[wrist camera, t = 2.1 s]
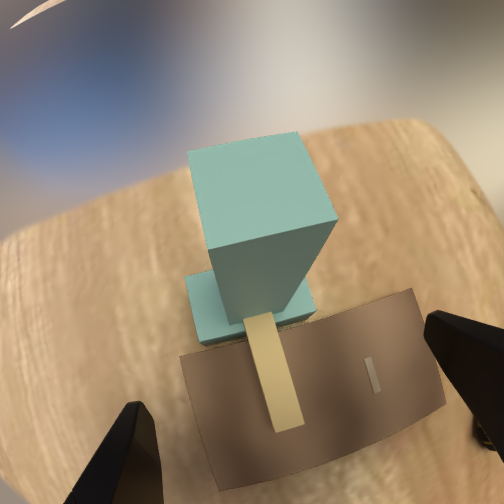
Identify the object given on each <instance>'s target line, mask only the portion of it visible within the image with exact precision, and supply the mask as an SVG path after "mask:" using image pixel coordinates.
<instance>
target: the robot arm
mask: <svg viewBox="0 0 504 504" xmlns="http://www.w3.org/2000/svg"><path fill="white" fill-rule="evenodd" d="M423 336H424V339H425V341H426V343H427V345H428V346H429V348H430V350H431V351H432V353H433V355H434V356H435V358H436V360H437V362H438V363H439V365H440V367H441V368H442V370H443V372H444V373H445V375H446V376H447V378H448V379H449V380H450V382H451V383H452V385H453V386H454V387H455V389H456V390H457V392H458V393H459V395H460V396H461V397H462V399H463V400H464V402H465V403H466V405H467V406H468V408H469V409H470V411H471V412H472V414H473V415H474V417H475V418H476V420H477V421H478V423H479V424H480V426H481V427H482V429H483V430H484V432H485V433H486V435H487V436H488V438H489V440H490V441H491V443H492V444H493V446H494V448H495V449H496V451H497V453H498V454H499V456H500V458H501V460H502V461H503V463H504V329H502V328H498V327H495V326H491V325H488V324H485V323H481V322H478V321H474V320H471V319H467V318H464V317H461V316H457V315H454V314H450V313H447V312H444V311H440V310H436V311H433V312H431V313H429V314H428V315H427V317H426V322H425V327H424V332H423ZM63 504H164V498H163V484H162V470H161V462H160V456H159V450H158V444H157V438H156V431H155V424H154V420H153V418H152V416H151V415H150V413H149V412H148V410H147V409H146V407H145V405H144V404H143V403H142V402H141V401H133V402H128V403H127V404H126V405H125V407H124V408H123V410H122V411H121V413H120V414H119V416H118V418H117V419H116V421H115V422H114V424H113V425H112V427H111V428H110V430H109V432H108V433H107V435H106V436H105V438H104V439H103V441H102V443H101V444H100V446H99V447H98V449H97V450H96V452H95V454H94V455H93V457H92V458H91V460H90V462H89V463H88V465H87V466H86V468H85V470H84V471H83V473H82V474H81V476H80V478H79V479H78V481H77V482H76V484H75V486H74V487H73V489H72V492H70V494H69V495H68V497H67V499H66V500H65V502H64V503H63Z"/></svg>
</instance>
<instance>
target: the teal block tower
mask: <svg viewBox="0 0 504 504" xmlns="http://www.w3.org/2000/svg"><path fill="white" fill-rule="evenodd" d="M187 155H188V161H189V166H190V171H191V176H192V180H193V185H194V190H195V195H196V199H197V204H198V209H199V213H200V218H201V223H202V227H203V231H204V236H205V240H206V245H207V249H208V253H209V256H210V260H211V264H212V267H213V270H210V271H206V272H202V273H198V274H194V275H189V276H185V281H186V286H187V291H188V295H189V300H190V304H191V309H192V313H193V318H194V322H195V327H196V331H197V335H198V339H199V342H200V343H202V344H203V345H204V346H209V345H213V344H217V343H221V342H226V341H230V340H234V339H238V338H242V337H245V336H247V338H248V342H249V345H250V349H251V353H252V356H253V360H254V363H255V367H256V370H257V374H258V377H259V381H260V384H261V388H262V391H263V395H264V398H265V401H266V405H267V408H268V412H269V415H270V418H271V422H272V425H273V428H274V431H275V433H277V432H281V431H284V430H287V429H291V428H294V427H297V426H300V425H303V424H305V423H304V419H303V416H302V413H301V409H300V406H299V402H298V399H297V396H296V392H295V389H294V385H293V382H292V379H291V375H290V372H289V368H288V365H287V362H286V358H285V355H284V351H283V348H282V345H281V341H280V338H279V334H278V331H277V328H279V327H282V326H286V325H289V324H293V323H296V322H300V321H303V320H306V319H308V318H309V317H310V316H311V315H312V314H313V313H314V312H315V311H317V310H316V307H315V304H314V301H313V298H312V295H311V292H310V289H309V286H308V283H307V280H306V277H305V276H306V274H307V272H308V271H309V269H310V267H311V266H312V264H313V262H314V261H315V259H316V257H317V256H318V254H319V252H320V250H321V249H322V247H323V245H324V244H325V242H326V240H327V238H328V237H329V235H330V233H331V231H332V230H333V228H334V226H335V224H336V223H337V221H338V217H337V215H336V212H335V210H334V208H333V205H332V203H331V201H330V199H329V196H328V194H327V192H326V190H325V188H324V185H323V183H322V181H321V179H320V177H319V175H318V173H317V170H316V168H315V166H314V164H313V162H312V160H311V158H310V156H309V154H308V152H307V150H306V148H305V146H304V144H303V142H302V140H301V138H300V136H299V134H298V132H291V133H284V134H277V135H271V136H264V137H258V138H252V139H247V140H241V141H236V142H231V143H225V144H220V145H215V146H211V147H206V148H201V149H197V150H192V151H188V152H187Z"/></svg>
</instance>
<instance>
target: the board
mask: <svg viewBox="0 0 504 504" xmlns="http://www.w3.org/2000/svg"><path fill="white" fill-rule="evenodd" d="M424 327H425V324H424V321H423V318H422V315H421V312H420V309H419V306H418V303H417V301H416V298H415V295H414V292H413V290H412V288H409V289H407V290H404V291H402V292H399V293H396V294H394V295H391V296H388V297H386V298H383V299H380V300H377V301H374V302H372V303H369V304H366V305H363V306H360V307H357V308H354V309H352V310H349V311H346V312H343V313H340V314H336V315H333V316H330V317H327V318H324V319H321V320H318V321H314V322H311V323H308V324H305V325H301V326H298V327H295V328H291V329H288V330H284V331H281V332H278V334H279V338H280V341H281V345H282V348H283V351H284V355H285V358H286V362H287V365H288V368H289V372H290V375H291V379H292V382H293V385H294V389H295V392H296V396H297V399H298V402H299V406H300V409H301V413H302V416H303V419H304V423H305V424H303V425H300V426H297V427H294V428H291V429H287V430H284V431H281V432H277V433H275V431H274V428H273V425H272V422H271V418H270V415H269V412H268V408H267V405H266V401H265V398H264V395H263V391H262V388H261V384H260V381H259V377H258V374H257V370H256V367H255V363H254V360H253V356H252V353H251V349H250V345H249V342H248V341H244V342H240V343H236V344H232V345H228V346H224V347H220V348H215V349H211V350H207V351H202V352H198V353H193V354H189V355H184V356H179V357H180V361H181V366H182V370H183V374H184V378H185V382H186V385H187V389H188V393H189V397H190V400H191V404H192V408H193V411H194V415H195V418H196V422H197V425H198V428H199V432H200V435H201V438H202V441H203V445H204V448H205V451H206V454H207V457H208V460H209V463H210V466H211V469H212V472H213V475H214V478H215V480H216V483H217V486H218V489H219V491H222V490H228V489H233V488H238V487H243V486H248V485H252V484H257V483H261V482H265V481H269V480H273V479H277V478H280V477H284V476H287V475H291V474H294V473H297V472H301V471H304V470H307V469H310V468H313V467H316V466H319V465H322V464H324V463H327V462H330V461H333V460H335V459H338V458H341V457H343V456H346V455H348V454H350V453H353V452H355V451H358V450H360V449H362V448H365V447H367V446H369V445H371V444H373V443H376V442H378V441H380V440H382V439H384V438H386V437H388V436H390V435H392V434H394V433H396V432H398V431H400V430H402V429H404V428H406V427H408V426H410V425H411V424H413V423H415V422H417V421H419V420H420V419H422V418H424V417H426V416H427V415H429V414H431V413H432V412H434V411H436V410H437V409H439V408H440V407H442V406H444V405H445V404H446V400H445V395H444V391H443V387H442V383H441V379H440V375H439V371H438V367H437V364H436V360H435V356H434V355H433V353H432V351H431V350H430V348H429V346H428V345H427V343H426V341H425V339H424V336H423V332H424Z"/></svg>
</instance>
